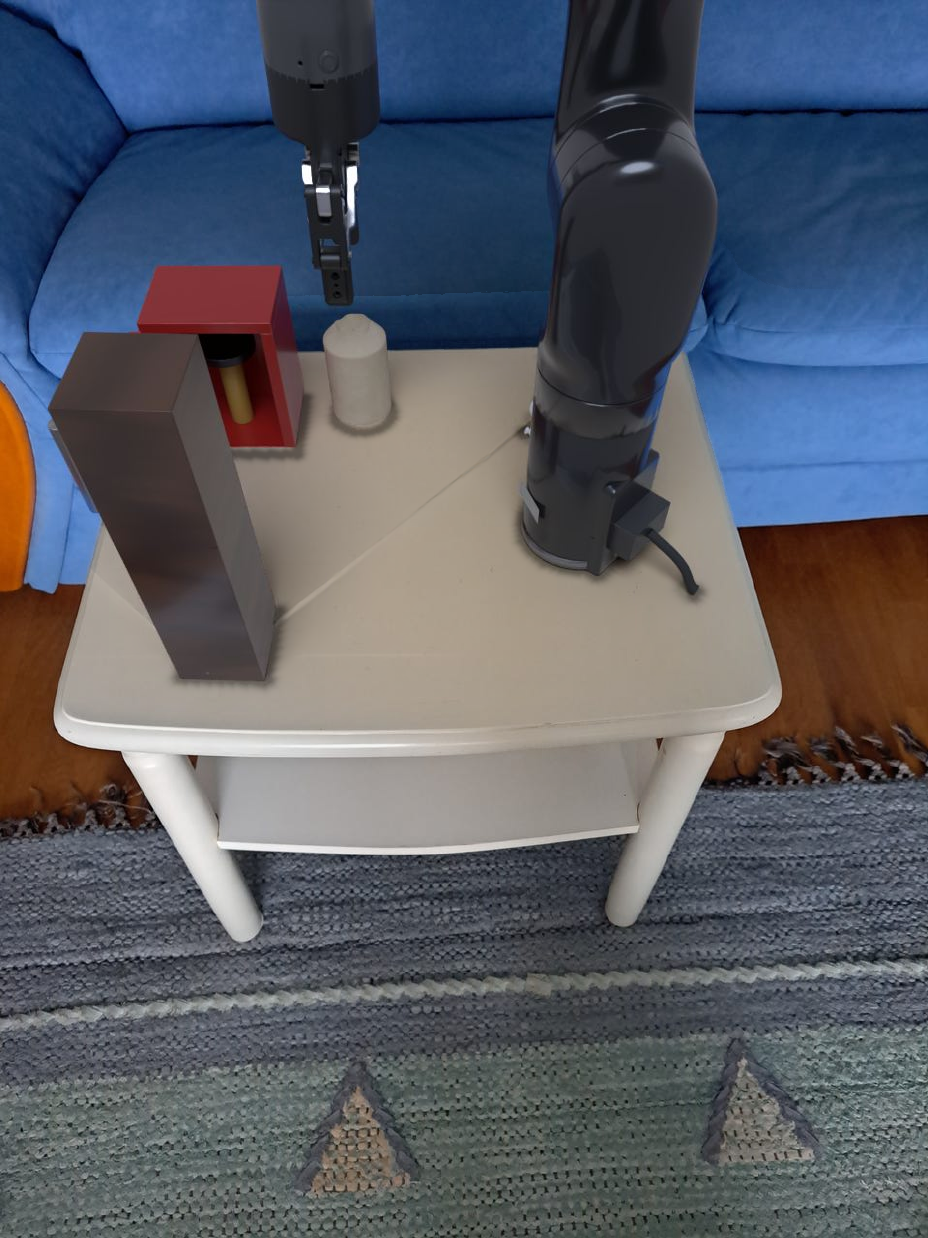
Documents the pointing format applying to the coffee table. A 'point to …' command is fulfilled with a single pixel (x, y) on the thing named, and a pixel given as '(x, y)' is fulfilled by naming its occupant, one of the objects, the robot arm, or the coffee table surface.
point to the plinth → (170, 496)
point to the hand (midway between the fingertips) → (343, 271)
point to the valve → (231, 369)
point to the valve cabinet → (237, 308)
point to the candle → (358, 370)
